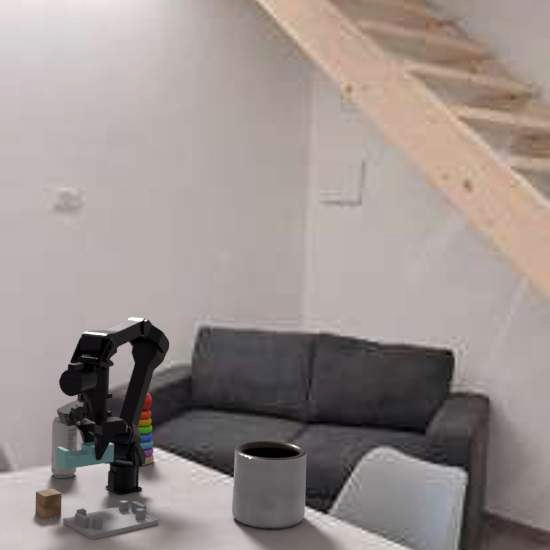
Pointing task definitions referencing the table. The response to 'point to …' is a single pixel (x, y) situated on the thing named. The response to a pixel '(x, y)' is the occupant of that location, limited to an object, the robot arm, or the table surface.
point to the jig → (111, 520)
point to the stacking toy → (146, 430)
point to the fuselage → (83, 456)
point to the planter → (269, 484)
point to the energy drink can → (65, 439)
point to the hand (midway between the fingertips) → (93, 457)
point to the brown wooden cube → (48, 503)
